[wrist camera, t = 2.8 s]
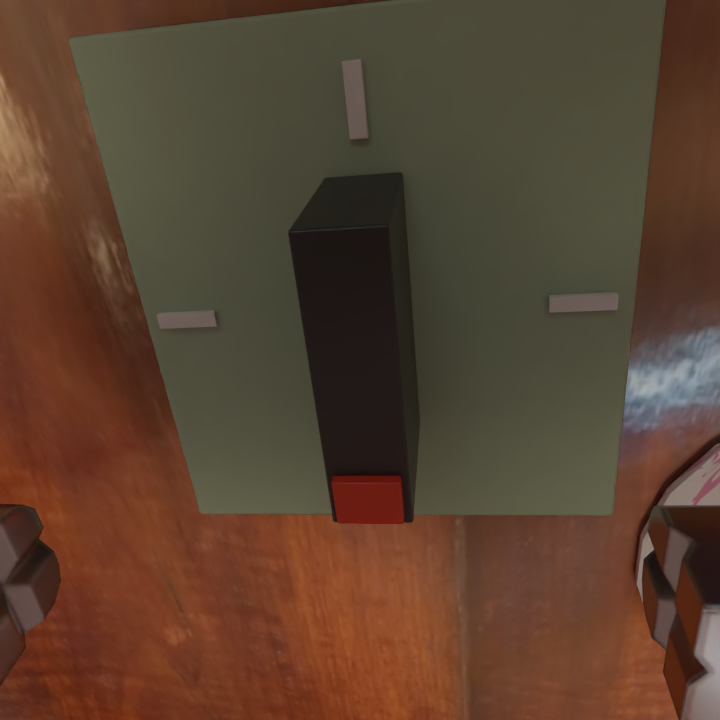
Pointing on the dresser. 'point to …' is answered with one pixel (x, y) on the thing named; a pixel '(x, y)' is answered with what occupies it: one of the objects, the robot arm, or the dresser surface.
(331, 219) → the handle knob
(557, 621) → the dresser surface
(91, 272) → the dresser surface
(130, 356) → the dresser surface
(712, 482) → the teacup
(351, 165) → the handle panel
